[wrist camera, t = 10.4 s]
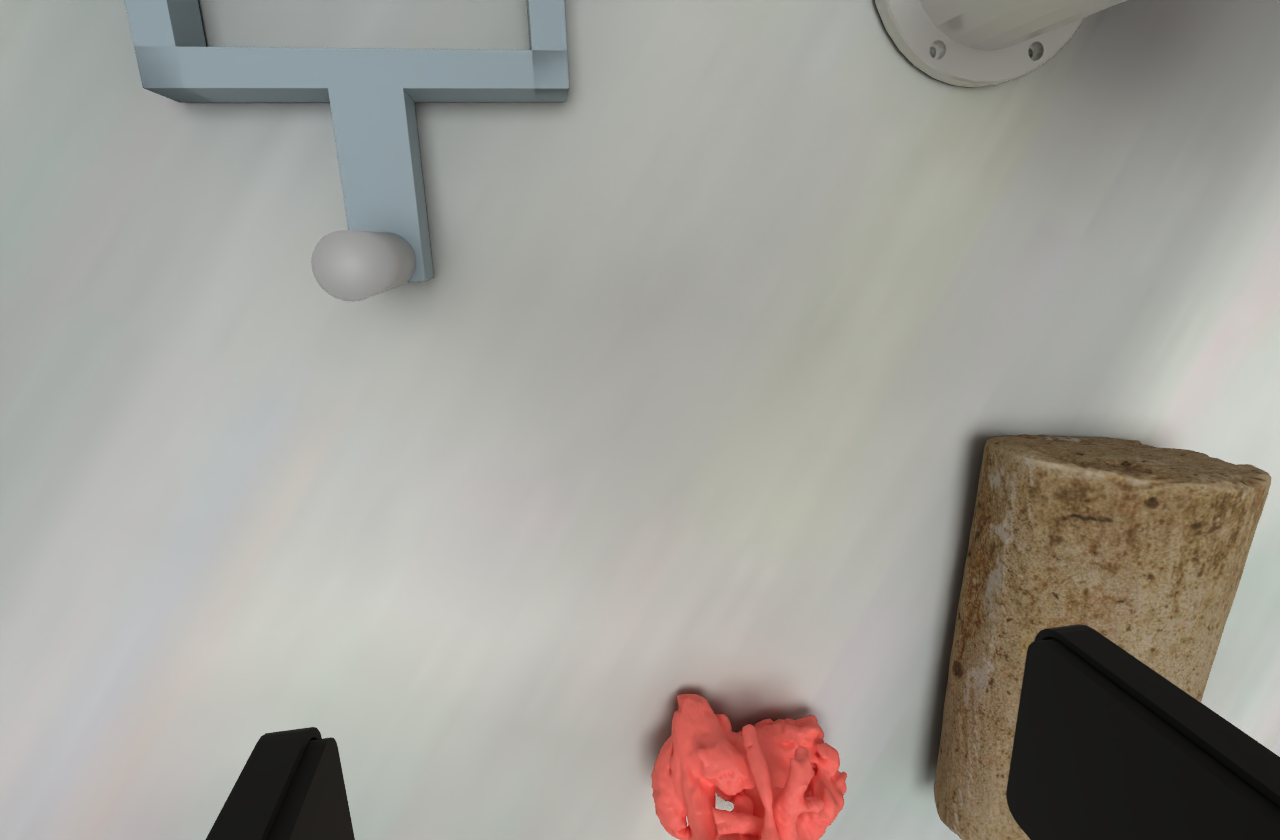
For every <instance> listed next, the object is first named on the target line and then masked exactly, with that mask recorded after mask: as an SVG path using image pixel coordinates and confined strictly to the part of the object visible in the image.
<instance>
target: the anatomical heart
mask: <svg viewBox="0 0 1280 840" xmlns="http://www.w3.org/2000/svg"><path fill="white" fill-rule="evenodd" d="M677 700H678V705H679V709H678V711H675V712H674V715H673V719H672V730H671V732H672V734H671V736H670V737H669V738H668V740H667V741H666V742H665V743H664V744H663V746H662V748H661V750H660V752H659V755H658V757H657V759H656V762H655V764H654V770H653V772H652V775H651V776H652V788H653V798H654V802H655V808H656V814H657V816H658V818H659V819H660V822H661V824H662V825H663V827H664V828H665V830H666V831H667V832H668V833H669V834H671V835H672V836H674V837H676V838H678V839H680V840H818V839H819V838H820V837H821V836H823V834H824V833H825V830H826V827H827V826H829V825H831V823H832V822H833V820H834V819H835V818H836V817H837V815H838V813H839V812H840V811H841V810H842V808H843V805H844V799H843V795H844V793H845V792H846V784H845V780H846V777H847V774H846V773H845V772H842V773H841V772H839V771H838V769H839V766H840V760H839V754H838V752H837V750H836V749H834V748H833V747H831V746H830V745H828V744H827V743H824V741H823V737H824V733H823V731H822V729H821V728H820V727H819V725H818V723H817V718H816V717H815V716H813V715H810V716H807V717H805V718H800V719H797V720H793V719H788V718H787V719H785V720H783V719H778V720H776V721H772V720H771V719H764V720H762V721H760V722H758V723H756V724H755V726H753V725H751V724H748V725H746V726H744V727H743V728H742V731H739V732H737V733H735V732H733V731H732V728H731V724H730V720H729V719H728V717H727V716H726V715H724V714H714V712H713V710H712V709H711V707H710V705H709V703H708V701H707V700H706V699H705V698H703V697H702V696H699V695H697V694H680V695H678V697H677ZM790 764H791V765H790ZM715 792H716V793H717V795H718V796H719V797H721V798H722V799H724V800H725V801H730V802H732V803H733V804H734V809H733V810H732V811H730V812H729V811H727V810H719V809H716V808H715ZM686 816H687V819H688V823H689V824H688V827H687V822H686Z"/></svg>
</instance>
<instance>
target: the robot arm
mask: <svg viewBox="0 0 1280 840" xmlns="http://www.w3.org/2000/svg"><path fill="white" fill-rule="evenodd" d="M1125 1H1127V0H875V3H876V7H877V9H878V12H879V14H880V16H881V19H882V21H883V24H884V26H885V29H886V31H887V32H888V34H889V35H890V37H891V38H892V40H893V41H894V43H895V44H896V46H897V47H898V49H899V50H900V51H901V52H902V53H903V54H904V55H905V56H906V58H907V59H908V60H909V61H910V62H911V63H912V64H913V65H914V66H916V67H917V68H919V69H920V70H922V71H923V72H925V73H926V74H928V75H929V76H931V77H932V78H935V79H937V80H940V81H943V82H945V83H948V84H951V85H956V86H964V87H982V86H991V85H996V84H999V83H1002V82H1006V81H1009V80H1012V79H1015V78H1018V77H1020V76H1022V75H1024V74H1026V73H1028V72H1031V71H1033V70H1035V69H1036V68H1038V67H1039V66H1040V65H1042V64H1043V63H1045V62H1046V61H1047V60H1049V59H1050V58H1052V57H1053V56H1054V55H1055V54H1056V53H1057V52H1058V51H1059V50H1060V49H1061V48H1062V47H1063V46H1064V45H1065V44H1066V43H1067V42H1068V41H1069V40H1070V39H1071V38H1072V36H1073V35H1074V33H1075V32H1076V30H1077V29H1078V28H1079V26H1080V25H1081V23H1082V22H1083V20H1084V19H1085V18H1086V17H1087V16H1089V15H1092V14H1094V13H1097V12H1099V11H1102V10H1104V9H1107V8H1109V7H1112V6H1115V5H1117V4H1120V3H1122V2H1125ZM930 52H931V55H930ZM1006 798H1007V804H1008V807H1009V810H1010V812H1011V814H1012V816H1013V818H1014V820H1015V821H1016V823H1017V824H1018V825H1019V827H1020V828H1021V829H1022V830H1023V831H1024V833H1025V834H1026V835H1027V836H1028V837H1029V838H1030V840H1280V757H1279V756H1277V755H1276V754H1274V753H1273V752H1272V751H1270V750H1269V749H1267V748H1266V747H1264V746H1263V745H1261V744H1260V743H1258V742H1257V741H1256V740H1254V739H1253V738H1251V737H1250V736H1248V735H1247V734H1245V733H1244V732H1242V731H1241V730H1240V729H1238V728H1237V727H1235V726H1234V725H1232V724H1231V723H1229V722H1228V721H1227V720H1225V719H1224V718H1222V717H1221V716H1219V715H1218V714H1216V713H1215V712H1213V711H1212V710H1211V709H1209V708H1208V707H1206V706H1205V705H1203V704H1202V703H1200V702H1199V701H1197V700H1196V699H1195V698H1193V697H1192V696H1190V695H1189V694H1187V693H1186V692H1184V691H1183V690H1182V689H1180V688H1179V687H1177V686H1176V685H1174V684H1173V683H1171V682H1170V681H1168V680H1167V679H1166V678H1164V677H1163V676H1161V675H1160V674H1158V673H1157V672H1155V671H1154V670H1152V669H1151V668H1150V667H1148V666H1147V665H1145V664H1144V663H1142V662H1141V661H1139V660H1138V659H1137V658H1135V657H1134V656H1132V655H1131V654H1129V653H1128V652H1126V651H1125V650H1123V649H1122V648H1121V647H1119V646H1118V645H1116V644H1115V643H1113V642H1112V641H1110V640H1109V639H1107V638H1106V637H1105V636H1103V635H1102V634H1100V633H1099V632H1097V631H1096V630H1094V629H1093V628H1091V627H1089V626H1087V625H1081V624H1077V625H1069V626H1062V627H1054V628H1047V629H1043V630H1041V631H1039V633H1038V634H1037V635H1036V637H1035V640H1034V642H1032V643H1031V644H1030V645H1029V646H1028V650H1027V655H1026V661H1025V668H1024V675H1023V682H1022V689H1021V695H1020V702H1019V709H1018V716H1017V723H1016V729H1015V736H1014V743H1013V750H1012V756H1011V763H1010V770H1009V777H1008V784H1007V790H1006ZM206 840H355V839H354V833H353V828H352V822H351V817H350V812H349V806H348V801H347V795H346V790H345V784H344V779H343V774H342V768H341V763H340V757H339V752H338V747H337V743H336V741H335V739H334V738H325V739H322V738H321V734H320V732H319V730H318V729H317V728H315V727H311V728H303V729H296V730H288V731H281V732H273V733H266V734H265V735H263V736H261V738H260V739H259V741H258V742H257V744H256V746H255V748H254V749H253V751H252V753H251V755H250V757H249V759H248V761H247V763H246V765H245V766H244V768H243V770H242V772H241V774H240V776H239V778H238V780H237V782H236V783H235V785H234V787H233V789H232V791H231V793H230V795H229V797H228V799H227V800H226V802H225V804H224V806H223V808H222V810H221V812H220V814H219V816H218V817H217V819H216V821H215V823H214V825H213V827H212V829H211V831H210V833H209V834H208V836H207V838H206Z"/></svg>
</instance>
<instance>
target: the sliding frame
mask: <svg viewBox="0 0 1280 840" xmlns="http://www.w3.org/2000/svg"><path fill="white" fill-rule="evenodd" d="M124 1H125V6H126V11H127V15H128V20H129V25H130V29H131V34H132V39H133V44H134V48H135V53H136V58H137V62H138V67H139V72H140V77H141V81H142V86H143V88H144V89H147V90H150V91H152V92H155V93H157V94H160V95H162V96H165V97H167V98H170V99H173V100H175V101H178V102H330V106H331V113H332V120H333V127H334V134H335V141H336V148H337V155H338V161H339V168H340V175H341V182H342V189H343V196H344V203H345V210H346V217H347V224H348V231H344V230H343V231H336V232H333V233H330V234H328V235H326V236H325V237H324V238H322V239H321V240H320V241H319V242H318V244H317V245H316V247H315V249H314V251H313V255H312V270H313V274H314V276H315V278H316V280H317V282H318V283H319V285H320V286H321V287H322V288H323V289H324V290H325V291H326V292H327V293H328V294H330V295H331V296H333V297H335V298H338V299H340V300H344V301H360V300H363V299H366V298H369V297H371V296H374V295H376V294H379V293H382V292H384V291H387V290H389V289H392V288H395V287H397V286H400V285H402V284H404V283H406V282H419V281H427V280H429V279H432V278H434V274H433V265H432V256H431V247H430V238H429V229H428V220H427V211H426V202H425V193H424V185H423V176H422V167H421V158H420V149H419V140H418V131H417V122H416V113H415V104H414V102H565V100H566V97H567V94H568V90H569V79H568V60H567V42H566V24H565V5H564V0H527V12H528V27H529V42H530V50H473V49H373V48H274V47H206V43H205V37H204V32H203V26H202V21H201V16H200V10H199V5H198V0H124Z"/></svg>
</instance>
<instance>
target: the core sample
mask: <svg viewBox="0 0 1280 840" xmlns="http://www.w3.org/2000/svg"><path fill="white" fill-rule="evenodd" d="M1270 484H1271V476H1270V475H1269V474H1268V473H1267V472H1265V471H1263V470H1261V469H1259V468H1256V467H1254V466H1252V465H1248V464H1246V465H1235V464H1231V463H1228V462H1225V461H1222V460H1220V459H1218V458H1211V457H1209V456H1208V455H1206V454H1204V453H1199V452H1195V451H1191V450H1183V449H1170V448H1157V447H1152V446H1147V445H1142V444H1141V443H1140V442H1139V441H1134V440H1121V439H1113V438H1084V437H1065V436H1046V435H1038V436H1032V435H1020V436H1001V437H991V438H989V439H988V440H987V441H986V444H985V446H984V453H983V460H982V466H981V470H980V477H979V484H978V490H977V497H976V504H975V510H974V515H973V521H972V526H971V532H970V539H969V548H968V553H967V558H966V563H965V570H964V577H963V582H962V588H961V593H960V599H959V604H958V610H957V618H956V625H955V632H954V639H953V645H952V651H951V657H950V665H949V675H948V683H947V689H946V696H945V702H944V711H943V724H942V731H941V739H940V747H939V754H938V760H937V767H936V775H935V783H934V796H935V803H936V807H937V812H938V814H939V817H940V819H941V820H942V822H943V823H944V824H945V825H946V826H947V827H948V828H949V829H950V830H951V831H953V832H954V833H956V834H957V835H958V836H959V837H960V838H961V839H962V840H1030V838H1029V837H1028V836H1027V835H1026V834H1025V833H1024V831H1023V830H1022V829H1021V828H1020V827H1019V825H1018V824H1017V823H1016V821H1015V820H1014V818H1013V816H1012V814H1011V812H1010V810H1009V807H1008V804H1007V798H1006V790H1007V784H1008V777H1009V770H1010V763H1011V756H1012V750H1013V743H1014V736H1015V729H1016V723H1017V716H1018V709H1019V702H1020V695H1021V689H1022V682H1023V675H1024V668H1025V661H1026V655H1027V650H1028V646H1029V645H1030V644H1031V643H1032V642H1034V640H1035V637H1036V635H1037V634H1038V633H1039V631H1041V630H1043V629H1047V628H1054V627H1062V626H1069V625H1077V624H1081V625H1087V626H1089V627H1091V628H1093V629H1094V630H1096V631H1097V632H1099V633H1100V634H1102V635H1103V636H1105V637H1106V638H1107V639H1109V640H1110V641H1112V642H1113V643H1115V644H1116V645H1118V646H1119V647H1121V648H1122V649H1123V650H1125V651H1126V652H1128V653H1129V654H1131V655H1132V656H1134V657H1135V658H1137V659H1138V660H1139V661H1141V662H1142V663H1144V664H1145V665H1147V666H1148V667H1150V668H1151V669H1152V670H1154V671H1155V672H1157V673H1158V674H1160V675H1161V676H1163V677H1164V678H1166V679H1167V680H1168V681H1170V682H1171V683H1173V684H1174V685H1176V686H1177V687H1179V688H1180V689H1182V690H1183V691H1184V692H1186V693H1187V694H1189V695H1190V696H1192V697H1193V698H1195V699H1196V700H1197V701H1199V702H1200V703H1201V700H1202V697H1203V693H1204V690H1205V687H1206V683H1207V680H1208V677H1209V674H1210V671H1211V667H1212V664H1213V661H1214V658H1215V655H1216V652H1217V649H1218V646H1219V643H1220V639H1221V636H1222V633H1223V629H1224V626H1225V623H1226V620H1227V617H1228V615H1229V612H1230V609H1231V606H1232V603H1233V600H1234V597H1235V594H1236V591H1237V588H1238V585H1239V582H1240V579H1241V576H1242V573H1243V569H1244V566H1245V562H1246V559H1247V555H1248V552H1249V549H1250V546H1251V543H1252V540H1253V537H1254V534H1255V530H1256V527H1257V524H1258V521H1259V519H1260V516H1261V514H1262V511H1263V507H1264V504H1265V501H1266V498H1267V495H1268V491H1269V487H1270Z"/></svg>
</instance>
